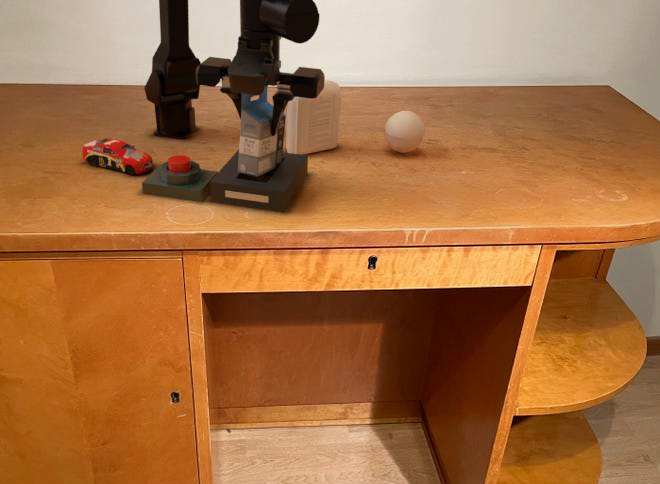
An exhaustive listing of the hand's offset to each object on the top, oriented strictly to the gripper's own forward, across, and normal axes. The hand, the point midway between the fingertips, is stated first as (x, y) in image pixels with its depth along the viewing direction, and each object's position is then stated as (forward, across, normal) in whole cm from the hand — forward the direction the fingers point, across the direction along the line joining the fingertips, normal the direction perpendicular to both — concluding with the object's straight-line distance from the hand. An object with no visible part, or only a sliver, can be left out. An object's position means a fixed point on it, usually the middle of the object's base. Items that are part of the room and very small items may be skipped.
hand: (260, 133), depth 111 cm
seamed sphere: (+9, +19, +23) cm, 31 cm away
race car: (+10, -26, +1) cm, 28 cm away
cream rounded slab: (+9, +4, +19) cm, 22 cm away
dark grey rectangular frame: (+9, 0, 0) cm, 9 cm away
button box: (+9, -12, -4) cm, 16 cm away
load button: (+6, -12, -4) cm, 14 cm away
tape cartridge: (+6, 0, 0) cm, 6 cm away
